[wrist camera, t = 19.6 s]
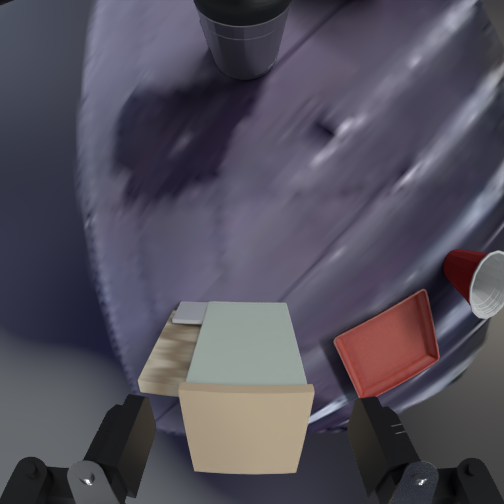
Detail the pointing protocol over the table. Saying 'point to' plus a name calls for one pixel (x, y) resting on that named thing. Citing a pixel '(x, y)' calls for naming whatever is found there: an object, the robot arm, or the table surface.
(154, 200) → the table surface
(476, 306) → the plastic cup
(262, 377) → the cabinet
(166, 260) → the table surface
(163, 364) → the tall wooden plank
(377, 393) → the plant saucer
